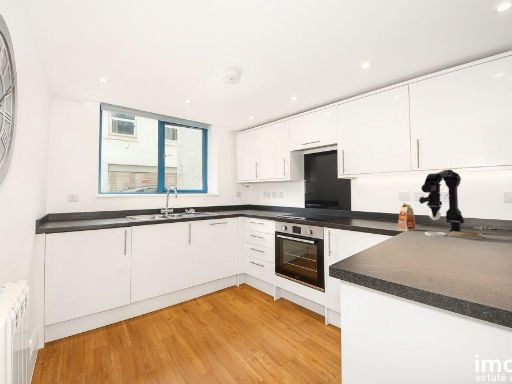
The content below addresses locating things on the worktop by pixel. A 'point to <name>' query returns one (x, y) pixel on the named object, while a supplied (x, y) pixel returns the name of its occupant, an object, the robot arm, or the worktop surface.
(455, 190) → the robot arm
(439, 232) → the white faceted hoop
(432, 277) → the worktop surface
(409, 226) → the milk carton
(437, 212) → the egg
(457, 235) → the tray
